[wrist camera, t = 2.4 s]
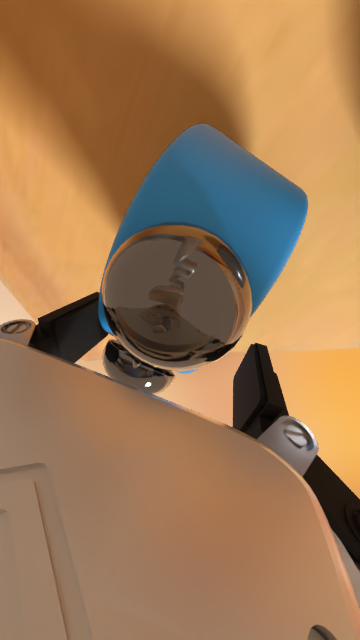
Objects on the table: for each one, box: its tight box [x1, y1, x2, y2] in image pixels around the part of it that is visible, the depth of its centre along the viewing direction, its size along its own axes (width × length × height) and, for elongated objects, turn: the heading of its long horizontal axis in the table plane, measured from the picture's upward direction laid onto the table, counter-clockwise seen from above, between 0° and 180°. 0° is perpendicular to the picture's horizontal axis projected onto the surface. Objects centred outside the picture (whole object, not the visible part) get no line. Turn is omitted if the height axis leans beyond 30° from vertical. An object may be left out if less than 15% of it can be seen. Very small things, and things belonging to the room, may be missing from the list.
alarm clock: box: [98, 123, 308, 395], centre depth 12 cm, size 13×6×15 cm, turn 153°
